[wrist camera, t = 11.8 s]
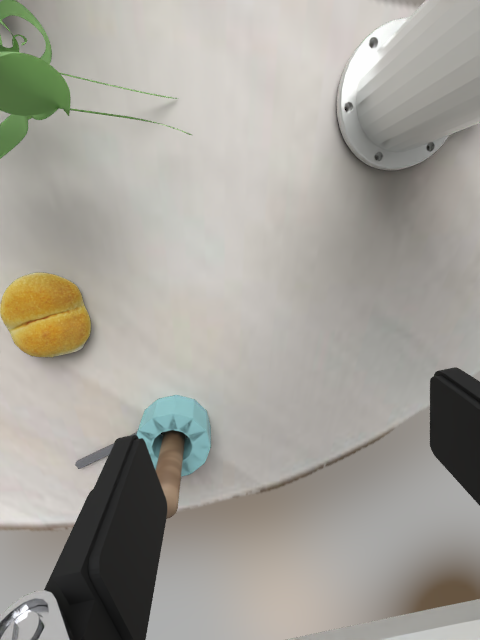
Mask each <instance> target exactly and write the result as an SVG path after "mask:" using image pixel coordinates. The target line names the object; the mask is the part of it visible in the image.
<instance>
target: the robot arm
mask: <svg viewBox="0 0 480 640" xmlns="http://www.w3.org/2000/svg"><path fill="white" fill-rule="evenodd" d="M344 108H346V109H347V112H346V111H345V109H344ZM337 117H338V122H339V127H340V130H341V133H342V135H343V138H344V140H345V142H346V144H347V145H348V147H349V148H350V150H351V151H352V152H353V153H354V154H355V155H356V156H357V157H358V159H360V160H361V161H363V162H364V163H366V164H367V165H369V166H372V167H374V168H377V169H382V170H400V169H404V168H408V167H411V166H413V165H416V164H418V163H421V162H422V161H424V160H425V159H427V158H428V157H430V156H431V155H433V154H434V153H435V152H436V151H437V150H438V149H439V148H440V147H441V146H442V145H443V143H444V142H445V141H446V139H447V138H448V137H449V135H450V134H453V133H455V132H458V131H461V130H463V129H466V128H468V127H471V126H473V125H476V124H479V123H480V0H426V1H425V2H424V3H423V4H422V5H421V6H420V7H419V8H418V9H417V10H416V11H415V12H414V13H413V14H412V15H411V16H410V17H409V18H400V19H397V20H393V21H390V22H387V23H386V24H384V25H382V26H380V27H378V28H376V29H375V30H374V31H373V32H372V33H371V34H369V35H368V36H367V37H366V38H365V39H364V40H363V41H362V42H361V44H360V45H359V46H358V47H357V48H356V50H355V51H354V53H353V54H352V56H351V57H350V59H349V60H348V62H347V64H346V67H345V69H344V71H343V73H342V76H341V80H340V83H339V87H338V95H337ZM374 156H375V157H376V160H375V158H374ZM430 447H431V450H432V452H433V454H434V455H435V456H436V458H437V459H438V460H439V461H440V462H441V463H442V464H443V465H444V466H445V468H446V469H447V470H448V471H449V472H450V473H451V474H452V475H453V476H454V478H455V479H456V480H457V481H458V482H459V483H460V484H461V485H462V486H463V488H464V489H465V490H466V491H467V492H468V493H469V494H470V495H471V496H472V497H473V499H474V500H476V502H477V503H478V504H479V505H480V382H479V381H478V380H476V379H475V378H473V377H471V376H470V375H468V374H467V373H465V372H464V371H462V370H460V369H458V368H450V369H445V370H441V371H437V372H436V373H435V374H434V377H432V378H431V380H430ZM166 517H167V500H166V497H165V495H164V492H163V489H162V487H161V484H160V481H159V478H158V476H157V473H156V470H155V468H154V465H153V462H152V459H151V457H150V454H149V451H148V449H147V446H146V443H145V441H144V439H143V438H140V439H139V438H138V436H137V435H132V436H127V437H122V438H118V439H117V440H116V441H115V443H114V445H113V448H112V450H111V452H110V454H109V456H108V459H107V461H106V463H105V465H104V467H103V470H102V472H101V474H100V476H99V478H98V480H97V483H96V485H95V487H94V489H93V490H92V491H91V492H90V493H89V495H88V497H87V499H86V501H85V503H84V506H83V508H82V510H81V512H80V514H79V516H78V518H77V521H76V523H75V525H74V527H73V529H72V531H71V533H70V536H69V538H68V540H67V542H66V544H65V546H64V549H63V551H62V553H61V555H60V557H59V559H58V561H57V564H56V566H55V568H54V570H53V572H52V574H51V577H50V579H49V581H48V583H47V585H46V587H45V589H44V590H42V591H34V592H32V593H30V594H27V595H25V596H23V597H22V598H20V599H19V600H17V601H16V602H14V603H13V604H12V605H11V606H10V607H8V608H7V609H6V610H5V611H4V612H3V613H2V614H1V615H0V640H145V639H146V633H147V627H148V621H149V615H150V610H151V604H152V598H153V592H154V587H155V581H156V575H157V569H158V563H159V557H160V551H161V546H162V540H163V534H164V528H165V523H166ZM287 640H480V599H478V600H473V601H468V602H463V603H458V604H453V605H449V606H443V607H439V608H434V609H429V610H424V611H419V612H415V613H410V614H405V615H400V616H395V617H391V618H386V619H381V620H377V621H372V622H367V623H363V624H357V625H353V626H348V627H343V628H339V629H334V630H329V631H324V632H320V633H315V634H310V635H305V636H301V637H296V638H292V639H287Z"/></svg>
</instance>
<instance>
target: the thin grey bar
mask: <svg viewBox="0 0 480 640" xmlns="http://www.w3.org/2000/svg"><path fill="white" fill-rule="evenodd" d="M132 435H137V433H134V434H132ZM132 435H130V436H132ZM113 445H114V444H112V445H109V446H107V447H105V448H103V449H101V450H99V451H97V452H95V453H93V454H91V455H89V456H86V457H84V458H82V459H80V460H78V461H77V462H76V464H75V465H76V466H77V467H78V469H80V468H82V467H84V466H86V465H88V464H91V463H93V462H95V461H97V460H99V459H101V458H103V457H105V456H107V455H109V454H110V452H111V450H112V448H113Z"/></svg>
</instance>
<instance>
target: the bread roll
mask: <svg viewBox="0 0 480 640" xmlns="http://www.w3.org/2000/svg"><path fill="white" fill-rule="evenodd" d="M0 314H1V318H2V320H3V322H4V324H5V325H6V327H7V328H8V330H9V331H10V334H11V336H12V339H13V341H14V343H15V344H16V345H17V346H18V347H19V348H20V349H21V350H22V351H23V352H25V353H27V354H29V355H31V356H36V357H54V356H60V355H64V354H69V353H72V352H75V351H78V350H80V349H82V348H83V346H84V344H85V342H86V341H87V339H88V338H89V335H90V332H91V322H90V317H89V315H88V312H87V310H86V308H85V305H84V303H83V298H82V295H81V293H80V291H79V289H78V287H77V286H76V285H75V284H74V283H72V282H71V281H69V280H67V279H64V278H62V277H60V276H57V275H53V274H48V273H42V272H36V273H31V274H28V275H25V276H22V277H20V278H18V279H16V280H15V281H14V282H13V283H12V284H11V285H10V286H9V287H8V288H7V289H6V291H5V293H4V295H3V297H2V301H1V307H0Z"/></svg>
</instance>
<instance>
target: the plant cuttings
mask: <svg viewBox="0 0 480 640" xmlns="http://www.w3.org/2000/svg"><path fill="white" fill-rule="evenodd" d="M11 15H14V16H19V17H21V18H24V19H25V20H27V21H29V22H30V23H31V24H33V25H34V26H35V27H36V28H37V29H38V30H39V31H40V32H41V34H42V35H43V37H44V39H45V42H46V50H45V52H44V54H43V56H42V57H41V58H37V57H35V56H32V55H29V54H24V53H19V45H18V43H17V41H16V39H15V37H16V36H21V37H23V39H24V41H25V42H24V43H22V45H24V44H25V43H26V42H27V39H26V38H25V37H24V36H22V35H15V36H13V35H12V36H13V39H12V43H13V42H14V43H13V47H12V48H6V47H3V46H2V40H1V35H0V110H1V111H4V112H6V113H9V114H11V115H10V116H9V117H8V118H7V119H6V120H5V121H3V122H2V123H1V124H0V159H1V158H2V157H3V156H4V155H6V154H7V153H8V152H9V151H10V150H12V149H13V148H14V147H15V146H16V145H17V144H18V143H20V142H21V141H22V139H23V138H24V137H25V135H26V134H27V131H28V119H31V118H34V119H36V120H42V119H45V118H47V117H49V116H50V115H52V114H53V113H54V112H55V111H56V110H57V109H58V108H60V109H64V111H65V112H66V113H67V114H68V116H69V111H70V110H74V111H81V112H88V113H95V114H102V115H109V116H116V117H123V118H130V119H136V120H142V121H148V120H143V119H138V118H133V117H127V116H120V115H113V114H106V113H99V112H92V111H84V110H77V109H70V91H69V88H68V85H67V83H66V82H65V80H64V79H63V77H62V76H61V75H60V74H62V75H67V74H63V73H59V72H58V71H56V70H55V69H54V68H53V67H52V66H51V65H49V64H50V62H51V57H52V51H51V45H50V42H49V39H48V37H47V35H46V33H45V31H44V29H43V28H42V26H41V25H40V23H39V22H38V21H37V19H36V18H35V17H34V16H33V15H32V14H31V12H30V11H29V10H27V9H26V8H25V7H24V6H23V5H21V4H20V3H18V2H17V1H14V0H0V23H1V24H2V25H3V26H5V27H6V28H7V29H8V27H7V26H6V25H5V24H4V22H3V21H2V20H3V19H4V18H5V17H7V16H11ZM8 30H9V29H8ZM9 31H10V30H9ZM11 34H12V33H11ZM67 76H71V75H67ZM71 77H75V76H71ZM75 78H79V79H84V78H80V77H75ZM84 80H88V79H84ZM88 81H92V80H88ZM92 82H96V83H101V82H97V81H92ZM101 84H105V83H101ZM105 85H109V84H105ZM109 86H114V85H109ZM114 87H118V86H114ZM118 88H122V87H118ZM122 89H127V88H122ZM127 90H131V89H127ZM131 91H136V90H131ZM136 92H141V91H136ZM141 93H145V92H141ZM145 94H150V93H145ZM150 95H155V94H150ZM156 96H161V95H156ZM161 97H166V96H161ZM167 98H172V97H167ZM175 99H178V98H175ZM148 122H152V121H148ZM153 123H156V122H153ZM158 124H160V123H158ZM162 125H164V124H162ZM165 126H167V125H165ZM168 127H170V126H168ZM171 128H173V127H171ZM174 129H176V128H174ZM177 130H179V129H177ZM180 131H181V130H180ZM182 132H184V131H182ZM185 133H186V132H185ZM187 134H189V133H187ZM189 135H191V134H189Z"/></svg>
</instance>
